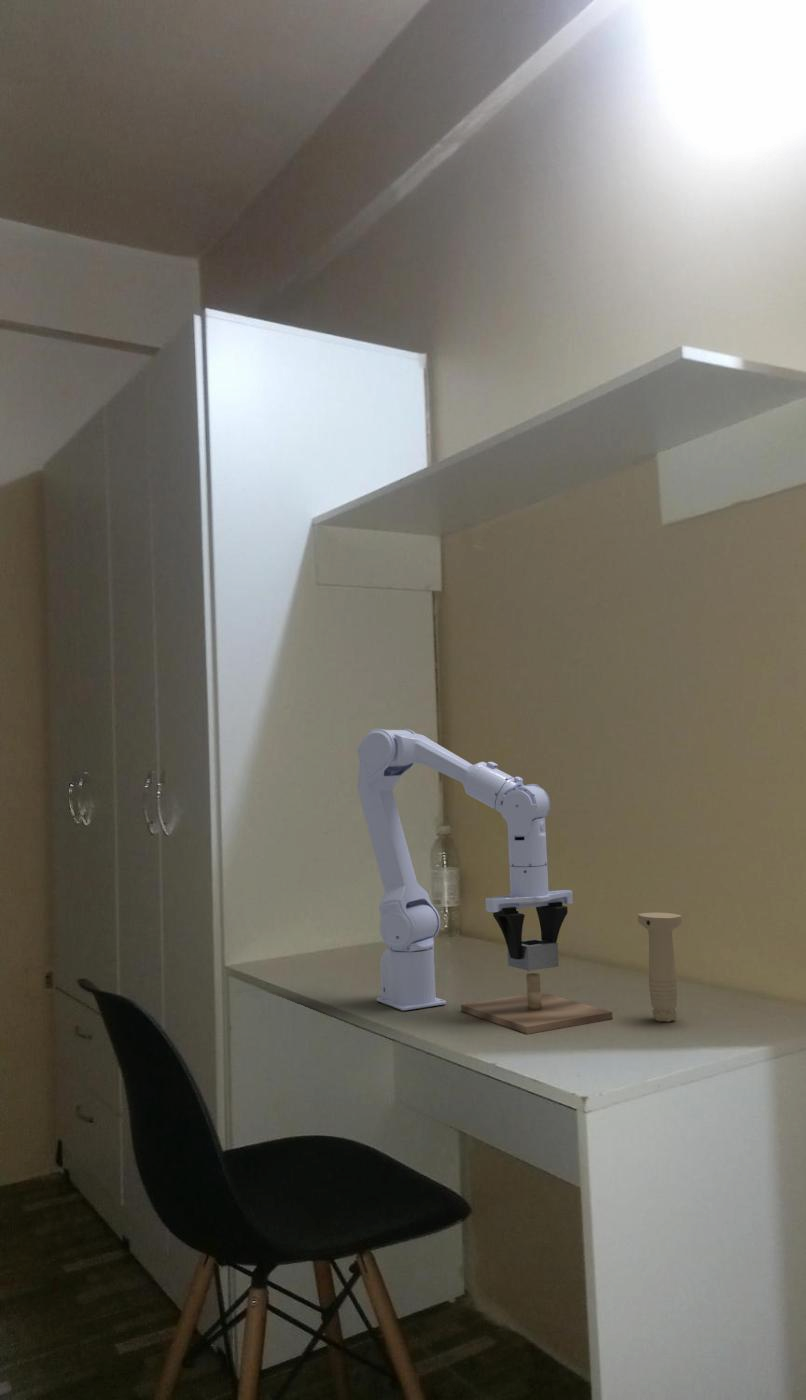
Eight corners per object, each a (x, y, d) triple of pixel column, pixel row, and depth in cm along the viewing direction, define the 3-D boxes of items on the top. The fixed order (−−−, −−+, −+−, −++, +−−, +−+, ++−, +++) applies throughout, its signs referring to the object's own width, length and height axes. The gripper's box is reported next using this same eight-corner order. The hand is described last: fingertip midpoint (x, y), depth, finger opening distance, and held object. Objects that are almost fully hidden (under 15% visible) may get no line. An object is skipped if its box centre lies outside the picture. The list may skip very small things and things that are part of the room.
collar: (508, 965, 169) (507, 942, 169) (537, 961, 171) (536, 938, 172) (528, 970, 164) (527, 946, 164) (558, 966, 167) (557, 942, 167)
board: (461, 1011, 172) (459, 971, 172) (541, 998, 179) (539, 960, 179) (527, 1034, 156) (525, 990, 156) (612, 1018, 163) (610, 977, 163)
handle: (659, 1013, 165) (654, 911, 166) (693, 1020, 160) (687, 915, 161) (636, 1018, 162) (631, 915, 163) (670, 1026, 157) (664, 919, 158)
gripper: (502, 870, 162) (506, 965, 161) (583, 863, 169) (587, 954, 168) (476, 867, 168) (480, 958, 167) (555, 860, 175) (559, 948, 174)
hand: (532, 956), depth 168 cm, fingers closed on collar, 5 cm apart
